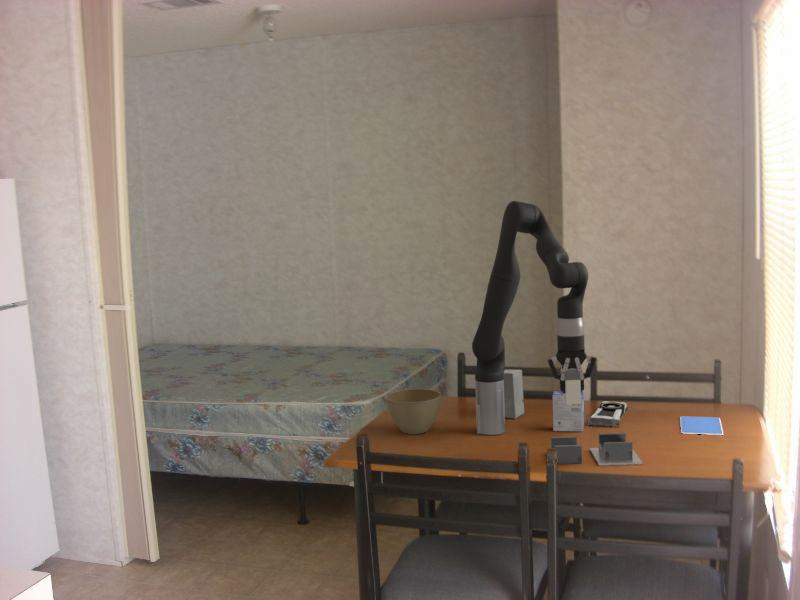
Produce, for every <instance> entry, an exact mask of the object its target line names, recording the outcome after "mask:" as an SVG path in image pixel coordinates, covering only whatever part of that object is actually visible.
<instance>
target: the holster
mask: <svg viewBox="0 0 800 600" xmlns="http://www.w3.org/2000/svg"><path fill="white" fill-rule="evenodd" d="M551 449H556V451H557V458H558V464H557V465H560V464H562V465H565V464H568V465H569V464H582V463H583V460H582V459H583V455H582V454H583V453H582V452H583V451H582V449H583V448H582V445H581V444H578V437H577V436H575V435H573V436H572V435H571V436H550V450H551Z"/></svg>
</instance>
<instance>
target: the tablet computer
mask: <svg viewBox="0 0 800 600" xmlns="http://www.w3.org/2000/svg"><path fill="white" fill-rule="evenodd" d="M679 424H680V425H679V426H680V427H681V430H680V431H681V432H680V434H681V433H683V434H706V435H724V436H725V433H724V429H723V425H722V421H721V418H720V417H717V416H715V417H714V416H690V415H688V416H687V415H682V416H680V417H679ZM723 433H724V434H723ZM683 434H682V435H683Z"/></svg>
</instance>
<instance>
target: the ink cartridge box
mask: <svg viewBox="0 0 800 600" xmlns="http://www.w3.org/2000/svg"><path fill="white" fill-rule="evenodd" d="M551 398H552V402H551V403H552V432H584V430H585V429H584V428H585V401H584V399H585V398H584V391H582V393H581V404H571V405H567V404H566V403H565V401H564V393H563V392H562V391H561V390H559V391H552V397H551Z"/></svg>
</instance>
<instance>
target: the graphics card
mask: <svg viewBox="0 0 800 600" xmlns="http://www.w3.org/2000/svg"><path fill="white" fill-rule="evenodd" d="M627 410H628V405H627V403H626V402H623V401H620V402H619V401H605V400H604V401H602V402H600V405H599V406H598V408H597V409H596V411H595V412H594V413H593V414H592V415H591V416H590V417H587V426H588V425H591V426H595V427H607V426H608V427H609V426H613V427H612V428H616V427H619V428H620V425H619V424H620V422H621V420H622V419H623V417H624V416H623V415H625V414H624V413H626V412H627ZM625 411H626V412H625ZM621 418H622V419H621ZM619 421H620V422H619ZM617 424H618V425H617ZM597 425H598V426H597ZM600 425H601V426H600Z"/></svg>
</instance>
